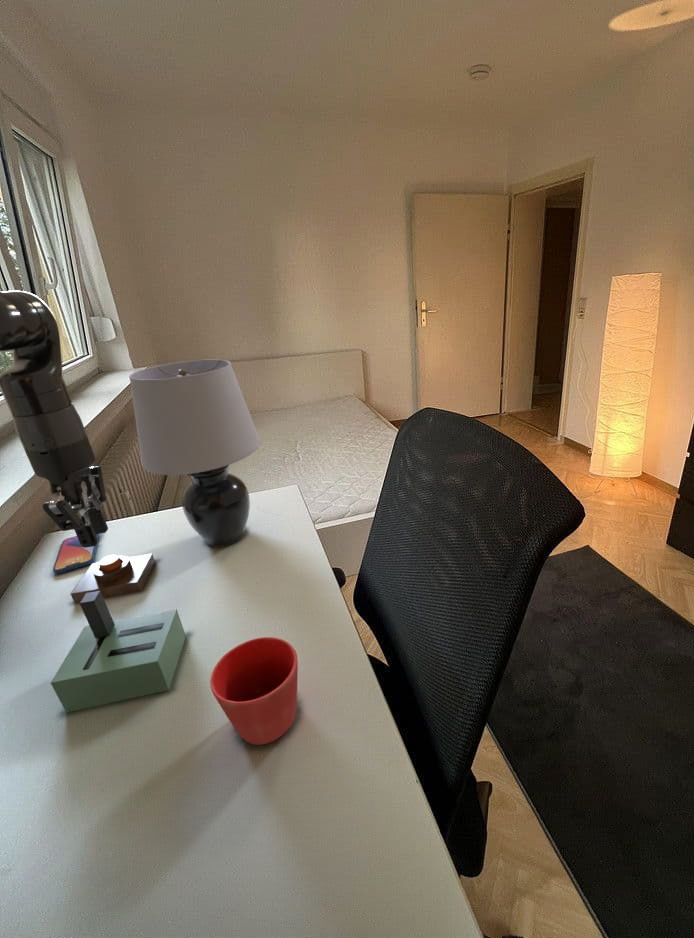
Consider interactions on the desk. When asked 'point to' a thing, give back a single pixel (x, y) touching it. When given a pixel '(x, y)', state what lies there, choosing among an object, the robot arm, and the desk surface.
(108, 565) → the round button
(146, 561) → the box
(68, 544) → the smartphone
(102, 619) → the slide button
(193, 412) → the lamp
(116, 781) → the desk surface
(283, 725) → the flower pot
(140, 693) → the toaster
